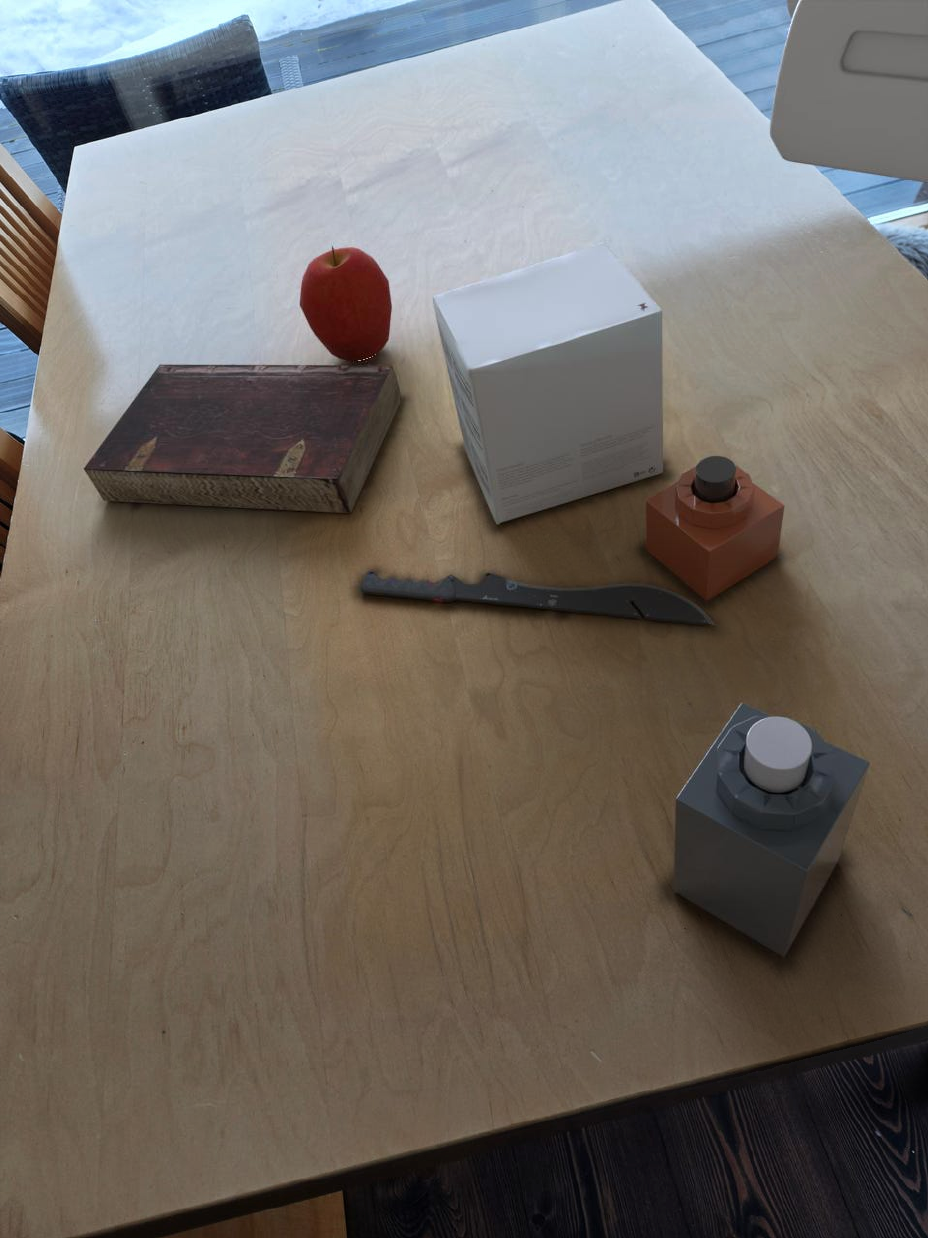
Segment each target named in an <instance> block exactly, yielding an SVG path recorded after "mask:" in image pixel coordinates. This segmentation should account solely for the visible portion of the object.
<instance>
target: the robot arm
mask: <svg viewBox="0 0 928 1238" xmlns="http://www.w3.org/2000/svg"><path fill="white" fill-rule="evenodd" d="M786 7H787V10H788V14H789V17H790V19H791V22H790V25H789V28H788V32H787V36H786V39H785V43H784V46H783V51H782V54H781V60H780V63H779V64H780V65H779V69H778V73H777V79H776V83H775V89H774V95H773V101H772V108H771V115H770V122H769V123H770V124H769V137H770V139H771V140H772V142H773V144H774V146H775V148H776V150H777V151H778V154H779V156H780V157H781V158H782V159H783V160H785V161H787V162H791V163H795V164H796V163H797V164H803V165H810V166H815V167H822V168H829V169H836V170H841V171H847V172H848V171H849V172H854V173H862V174H869V175H874V176H880V177H881V176H882V177H887V178H893V179H901V180H906V181H913V182H919V183H926V184H928V0H786Z"/></svg>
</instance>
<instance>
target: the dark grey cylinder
mask: <svg viewBox="0 0 928 1238" xmlns="http://www.w3.org/2000/svg"><path fill="white" fill-rule="evenodd" d="M695 465H696V467H695V489H694V491H695V494H696V496H697V497H698V498H699V499H700V500H702V501H704V502H709V503H719V502H725V501H727V500H729V499H730V498H731V497H732V496H733V494H734V491H735V479H736V466H737V465H736V464H735V462H734V461H733V460H731V459H730V458H728V457H726V456H721V455H709V456H706V457H704V458H702V459H700V460H699V461H698V462H697V463H696V464H695ZM735 465H736V466H735Z"/></svg>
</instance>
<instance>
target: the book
mask: <svg viewBox="0 0 928 1238" xmlns="http://www.w3.org/2000/svg"><path fill="white" fill-rule="evenodd" d="M401 402H402V395H401V388H400V385H399V381H398V377H397V373H396V371H395V368H394V366H393V365H392V364H391V365H386V364H384V365H380V364H378V365H374V364H373V365H372V364H369V365H368V364H367V365H364V364H362V365H361V364H357V365H356V364H349V365H348V364H347V365H346V364H159V365H158V366H157V368H156V369H155V370H154V371H153V373H152V374H151V375H150V377H149V378H148V380H147V381H146V383H145V384H144V385H143V386H142V388H141V389H140V390H139V392H138V393H137V395H136V396H135V398H134V399H133V400H132V402H131V403H130V404H129V406H128V407H127V408H126V409H125V411H124V413H123V414H122V415H121V416H120V418H119V420H118V421H117V422H116V423H115V425H114V426H113V428H112V429H111V431H109V433H108V435H106V437H105V439H104V440H103V441H102V443H101V444H100V445H99V447H98V448H97V449H96V451H95V453H93V455H92V456H91V458H90V459H89V460H88V462H87V463H86V464H85V466H84V467H83V471H84V472H85V474H86V475H87V477H88V478H89V480H90V482H91V483H92V484H93V486H94V488H95V489H96V491H97V493H98V495H100V497H101V499H102V500H103V501H104V502H121V503H122V502H123V503H142V504H143V503H145V504H161V505H162V504H164V505H182V506H184V505H185V506H201V507H221V508H223V507H224V508H241V509H242V508H243V509H258V510H259V509H260V510H261V509H262V510H282V511H301V512H302V511H303V512H317V513H318V512H322V513H337V514H338V513H339V514H352V512H353V510H354V507H355V505H356V503H357V500H358V498H359V497H360V494H361V491H362V490H363V487H364V485H365V483H366V480H367V478H368V476H369V474H370V471H371V469H372V467H373V465H374V463H375V460H376V458H377V456H378V453H379V452H380V449H381V447H382V445H383V442H384V440H385V438H386V436H387V433H388V431H389V429H390V427H391V424H392V422H393V420H394V417H395V416H396V413H397V412H398V409H399V406H400V404H401Z"/></svg>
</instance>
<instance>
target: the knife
mask: <svg viewBox="0 0 928 1238" xmlns="http://www.w3.org/2000/svg"><path fill="white" fill-rule="evenodd" d="M377 572H378V571H374V570H369V571H367V572H366V573H365V574H364V576H363V579H362V581H361V582H360V585H359V590H360V592H361V593H363V594H368V595H379V596H387V597H398V598H407V599H417V600H426V601H433V602H439V603H440V602H441V603H443V602H446V603H451V602H453V601H464V602H473V603H483V604H492V605H503V606H512V607H514V606H515V607H522V608H531V609H532V608H533V609H541V610H553V611H561V612H572V613H580V614H590V615H591V614H592V615H601V616H611V617H618V618H619V617H620V618H630V619H638V620H639V619H641V615H642V617H643V618H644V619H645V620H651V621H658V622H659V621H661V622H670V623H680V624H690V625H699V626H710V627H711V626H716V624H715V623H714V621H713V620H712V619H711V617H710V616H708V614H707V613H706V612H705V611H704V610H702V609H701V608H700V607H699V606H697V604H695V603H694V602H692V601H691V600H690V599H688V598H686V597H684V596H682V595H680V594H678V593H676V592H674V591H671V590H669V589H666V588H663V587H660V586H656V585H650V584H646V583H645V584H644V583H617V584H608V585H601V586H592V587H553V586H552V587H551V586H542V585H541V586H540V585H533V584H527V583H522V582H518V581H515V580H510V579H507V578H506V577H504V576H500V575H497V574H494V573H491V572H486V573H485V574H484V576H483V578H482V579H481V580H480V581H479V582H476V583H470V584H469V583H464V581H462V580H460V579H459V578H458V577H457V576H455V575H453V574H449V575H447V576H446V577H445V578H443V579H442V580H440V581H439V580H438V581H435V582H433V581H432V582H431V581H429V580H428V579H422V580H418V581H416V580H415V581H414V580H413V579H410V578H404V579H397V578H395V577H394V576H389V577H386V578H381V577H380V576H378V573H377ZM632 603H633V604H632ZM633 605H634V606H635V608H634V606H633ZM636 608H637V610H638V611H639V612H640V614H641V615H640V614H639V612H638V611H637V610H636Z"/></svg>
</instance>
